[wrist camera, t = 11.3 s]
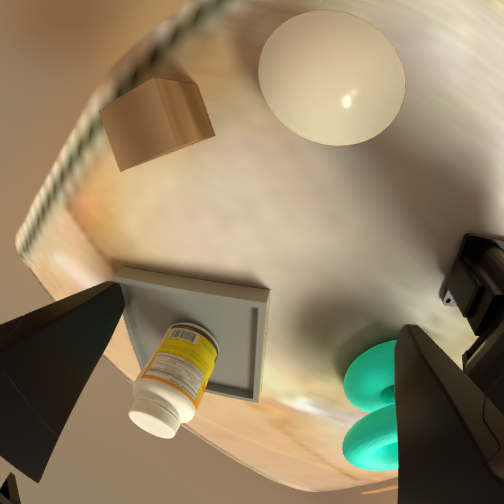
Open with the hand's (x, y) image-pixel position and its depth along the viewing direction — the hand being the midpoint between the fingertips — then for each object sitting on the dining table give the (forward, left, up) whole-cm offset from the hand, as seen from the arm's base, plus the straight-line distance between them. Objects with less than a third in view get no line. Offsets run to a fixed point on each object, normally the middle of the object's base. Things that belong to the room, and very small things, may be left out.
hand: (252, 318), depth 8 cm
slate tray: (+8, +15, -13) cm, 21 cm away
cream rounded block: (-2, -8, -13) cm, 16 cm away
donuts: (-12, +16, -13) cm, 24 cm away
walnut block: (+8, -5, -13) cm, 16 cm away
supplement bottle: (+8, +15, -12) cm, 21 cm away
